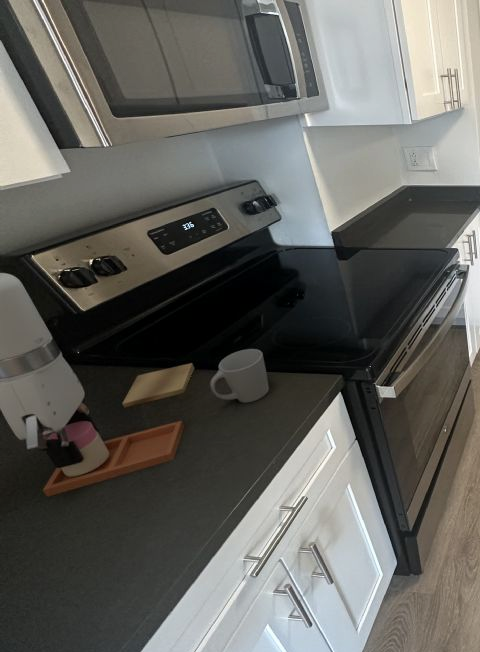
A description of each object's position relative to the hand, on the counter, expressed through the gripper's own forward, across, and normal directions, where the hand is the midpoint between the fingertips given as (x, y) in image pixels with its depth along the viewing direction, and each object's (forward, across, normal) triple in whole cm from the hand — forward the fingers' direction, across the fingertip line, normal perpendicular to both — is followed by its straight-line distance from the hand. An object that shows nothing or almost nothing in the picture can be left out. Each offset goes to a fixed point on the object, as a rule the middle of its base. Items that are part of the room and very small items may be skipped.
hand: (78, 449), depth 69 cm
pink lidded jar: (+3, 0, 0) cm, 3 cm away
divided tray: (+4, 0, +4) cm, 6 cm away
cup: (+4, -9, +22) cm, 24 cm away
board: (+4, -21, +5) cm, 22 cm away
